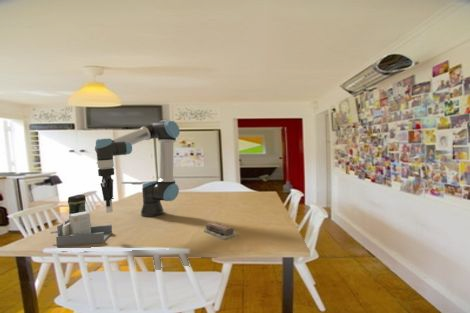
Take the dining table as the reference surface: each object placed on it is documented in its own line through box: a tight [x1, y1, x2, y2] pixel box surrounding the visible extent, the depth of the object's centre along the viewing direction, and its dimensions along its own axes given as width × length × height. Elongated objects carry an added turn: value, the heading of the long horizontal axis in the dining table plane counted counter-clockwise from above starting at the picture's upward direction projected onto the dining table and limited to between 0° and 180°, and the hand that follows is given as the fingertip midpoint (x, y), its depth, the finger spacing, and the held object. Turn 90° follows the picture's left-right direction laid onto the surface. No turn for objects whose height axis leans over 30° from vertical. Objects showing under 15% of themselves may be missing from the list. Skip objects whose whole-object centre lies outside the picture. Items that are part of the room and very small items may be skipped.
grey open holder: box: [50, 222, 71, 235], centre depth 133 cm, size 9×10×8 cm
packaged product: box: [203, 221, 239, 241], centre depth 138 cm, size 18×5×10 cm
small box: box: [68, 210, 92, 235], centre depth 135 cm, size 8×6×13 cm
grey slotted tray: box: [55, 218, 113, 247], centre depth 135 cm, size 22×14×10 cm, turn 99°
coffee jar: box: [67, 194, 87, 215], centre depth 162 cm, size 10×8×19 cm
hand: (109, 212), depth 137 cm, fingers closed
